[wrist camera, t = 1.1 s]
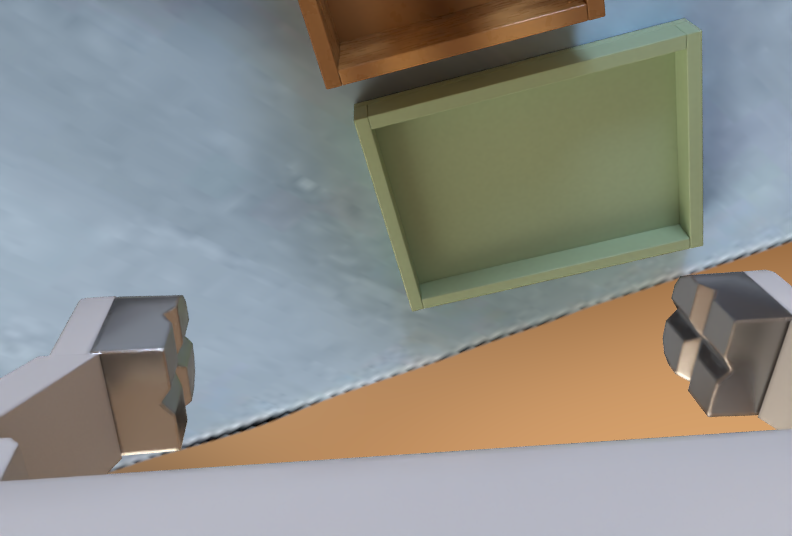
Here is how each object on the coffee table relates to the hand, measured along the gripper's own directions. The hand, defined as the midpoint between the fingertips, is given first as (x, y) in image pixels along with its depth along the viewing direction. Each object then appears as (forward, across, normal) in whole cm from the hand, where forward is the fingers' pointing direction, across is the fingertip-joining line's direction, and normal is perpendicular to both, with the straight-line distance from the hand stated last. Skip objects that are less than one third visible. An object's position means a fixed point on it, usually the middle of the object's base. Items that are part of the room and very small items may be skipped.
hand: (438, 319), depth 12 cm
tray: (+30, -11, +9) cm, 33 cm away
